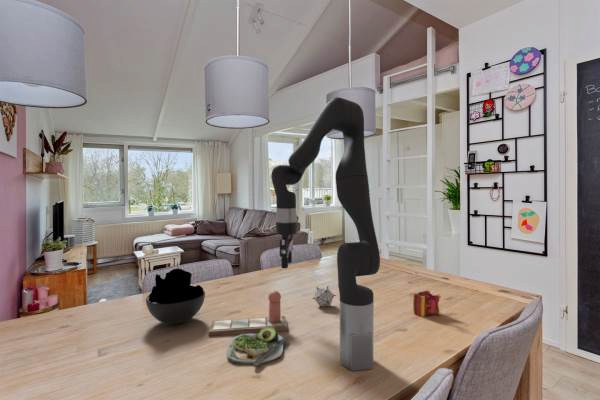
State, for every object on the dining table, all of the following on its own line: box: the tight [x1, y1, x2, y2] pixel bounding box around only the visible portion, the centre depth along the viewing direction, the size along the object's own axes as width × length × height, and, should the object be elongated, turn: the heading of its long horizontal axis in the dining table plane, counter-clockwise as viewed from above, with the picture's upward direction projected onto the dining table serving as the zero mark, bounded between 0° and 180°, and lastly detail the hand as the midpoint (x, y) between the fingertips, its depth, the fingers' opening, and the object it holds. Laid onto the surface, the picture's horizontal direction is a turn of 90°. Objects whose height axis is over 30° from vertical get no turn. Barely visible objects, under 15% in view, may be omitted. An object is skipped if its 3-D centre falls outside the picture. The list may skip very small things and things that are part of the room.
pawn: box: [267, 290, 282, 324], centre depth 115 cm, size 4×4×11 cm
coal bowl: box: [145, 268, 206, 325], centre depth 119 cm, size 20×20×19 cm
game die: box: [311, 285, 337, 309], centre depth 134 cm, size 9×8×10 cm
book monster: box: [412, 289, 442, 318], centre depth 123 cm, size 11×9×12 cm
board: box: [208, 315, 289, 337], centre depth 114 cm, size 9×26×2 cm, turn 98°
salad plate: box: [226, 327, 289, 367], centre depth 97 cm, size 19×18×5 cm
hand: (286, 265), depth 119 cm, fingers open, 8 cm apart
